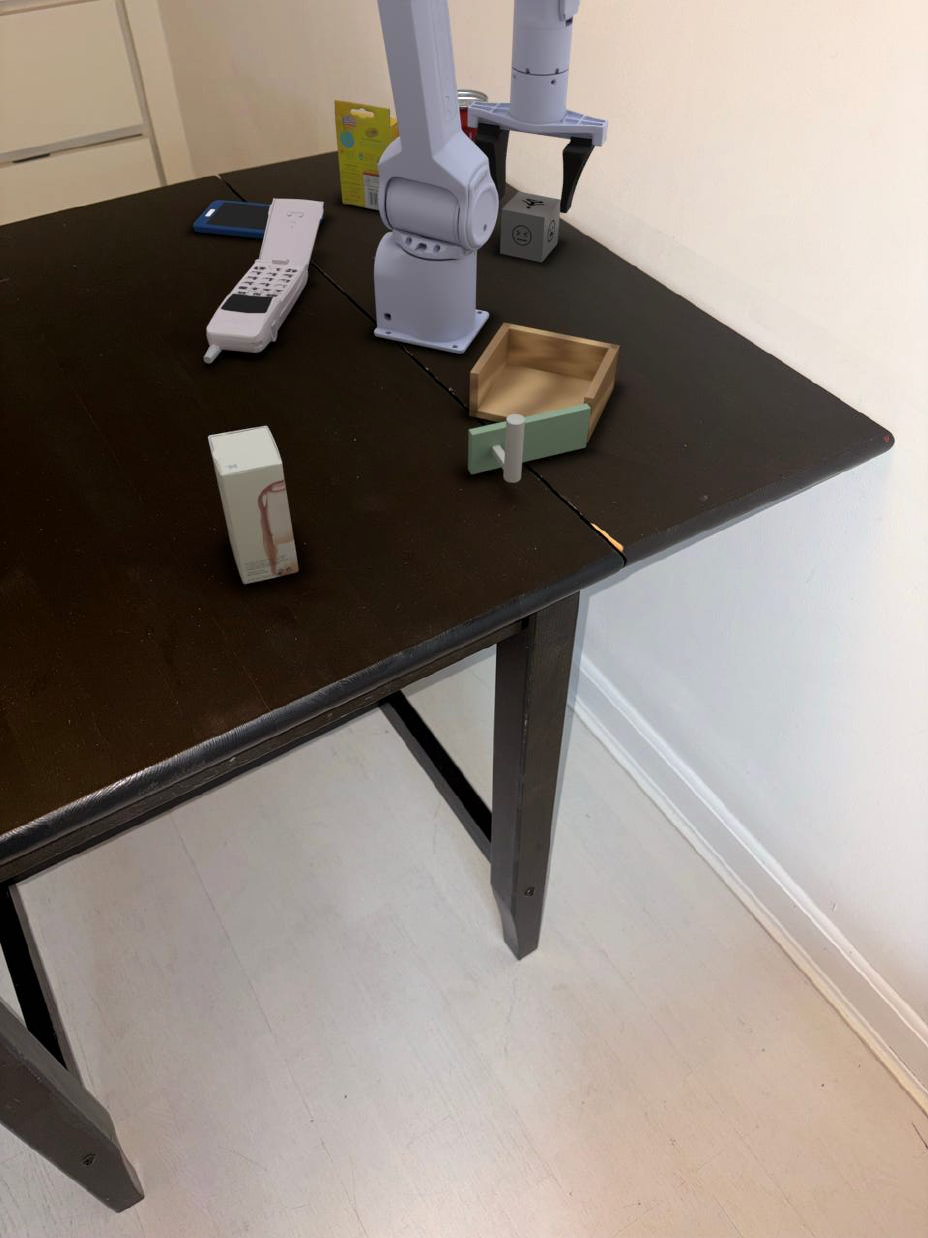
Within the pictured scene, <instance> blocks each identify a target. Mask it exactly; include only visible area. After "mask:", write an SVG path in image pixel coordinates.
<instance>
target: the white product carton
mask: <svg viewBox="0 0 928 1238" xmlns="http://www.w3.org/2000/svg"><path fill="white" fill-rule="evenodd" d="M207 439H208V444H209V448H210V453H211V457H212V462H213V467H214V472H215V476H216V480H217V481H216V482H217V486H218V490H219V491H218V492H219V494H220V499H221V503H222V509H223V515H224V518H225V522H226V527H227V533H228V538H229V542H230V545H231V551H232V553H233V558H234V560H235V564H236V567H237V570H238V574H239V576H240V579H241V581H242V583H243V585H248V584H252V583H257V582H262V581H266V580H270V579H275V578H279V577H280V578H281V577H284V576H288V575H292V574H296V573H298V572H299V564H298V557H297V551H296V544H295V539H294V538H295V537H294V532H293V525H292V519H291V513H290V507H289V499H288V494H287V493H288V492H287V487H286V486H287V485H286V480H285V473H284V467H283V460H282V458H281V454H280V451H279V449H278V446H277V444H276V441H275V438H274V437H273V434H272V431H271V430H270V428H269V426H267V425H262V426H258V427H257V426H256V427H251V428H245V429H238V430H233V431H228V432H222V433H217V434H215V433H214V434H211V435H208V436H207Z"/></svg>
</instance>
